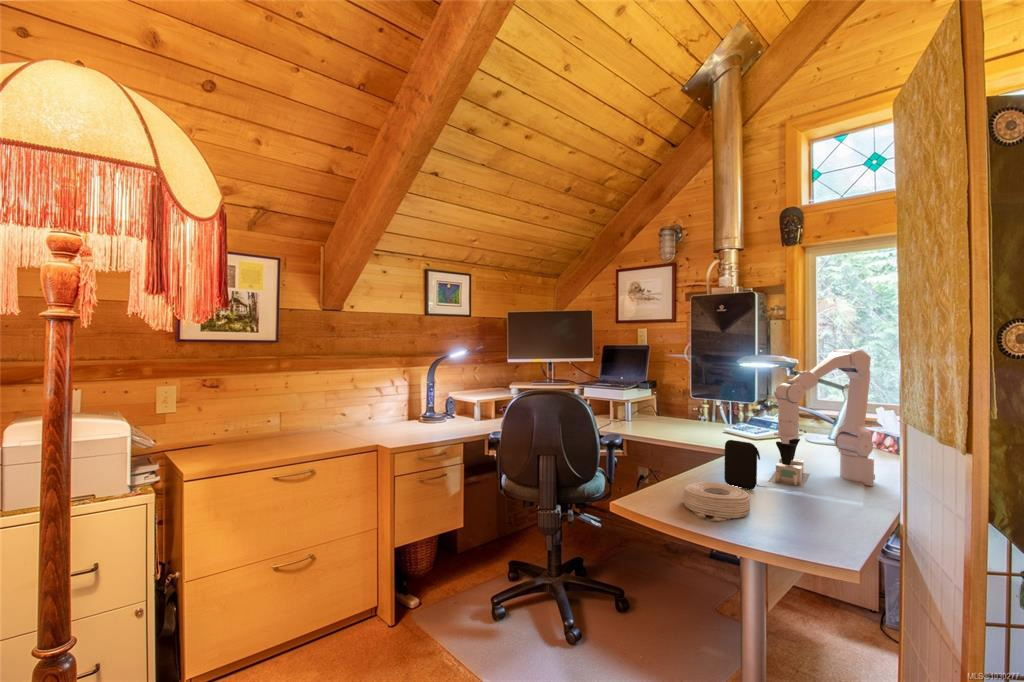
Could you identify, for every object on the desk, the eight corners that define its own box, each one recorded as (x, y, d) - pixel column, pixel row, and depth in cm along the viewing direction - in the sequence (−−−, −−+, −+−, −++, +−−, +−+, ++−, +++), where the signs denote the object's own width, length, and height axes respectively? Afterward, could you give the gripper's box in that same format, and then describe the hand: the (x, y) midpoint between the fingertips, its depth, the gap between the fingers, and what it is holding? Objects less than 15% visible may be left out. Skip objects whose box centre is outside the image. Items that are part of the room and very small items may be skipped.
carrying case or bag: (761, 490, 150) (761, 443, 150) (757, 493, 147) (758, 445, 147) (726, 483, 157) (727, 438, 157) (722, 485, 155) (723, 439, 155)
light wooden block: (801, 481, 156) (801, 466, 156) (800, 484, 153) (800, 468, 153) (777, 477, 161) (777, 462, 161) (775, 480, 157) (775, 465, 157)
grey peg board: (810, 476, 166) (810, 465, 166) (803, 490, 150) (804, 477, 150) (777, 471, 172) (777, 460, 172) (768, 484, 156) (768, 472, 156)
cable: (709, 524, 122) (709, 501, 122) (668, 502, 139) (669, 481, 139) (765, 518, 127) (765, 495, 127) (719, 497, 144) (720, 477, 144)
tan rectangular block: (804, 474, 165) (804, 460, 165) (802, 477, 161) (803, 462, 161) (780, 471, 169) (781, 456, 169) (779, 473, 165) (779, 459, 165)
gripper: (777, 416, 165) (777, 456, 165) (770, 422, 153) (770, 464, 154) (801, 418, 161) (801, 459, 161) (796, 424, 149) (796, 468, 149)
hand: (787, 462), depth 157 cm, fingers open, 7 cm apart
